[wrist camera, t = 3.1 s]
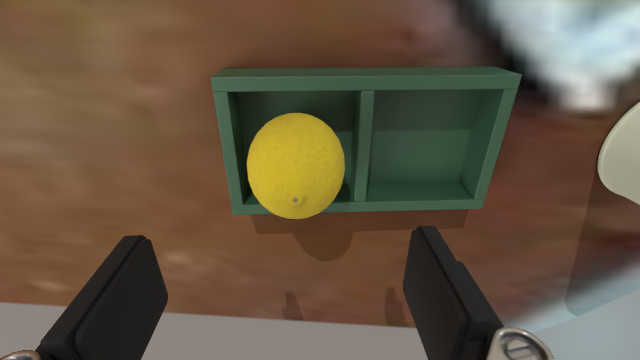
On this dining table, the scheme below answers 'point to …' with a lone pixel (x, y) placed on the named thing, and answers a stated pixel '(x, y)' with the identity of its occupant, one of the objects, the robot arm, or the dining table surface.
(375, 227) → the dining table surface
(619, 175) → the can
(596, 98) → the dining table surface
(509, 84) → the holder
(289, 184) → the lemon
